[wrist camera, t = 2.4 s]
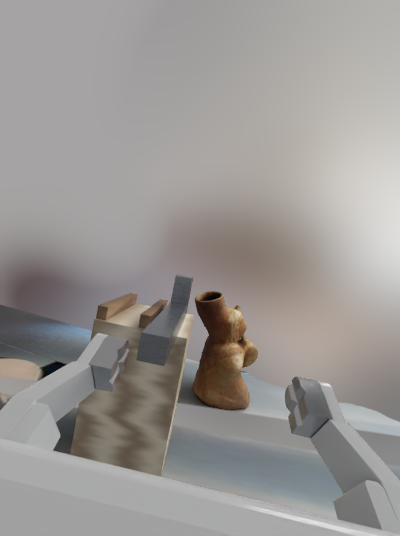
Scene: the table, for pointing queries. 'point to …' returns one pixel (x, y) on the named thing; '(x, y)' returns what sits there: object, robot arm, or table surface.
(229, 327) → the ceramic vessel
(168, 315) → the bracket
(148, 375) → the stand
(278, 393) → the table surface
